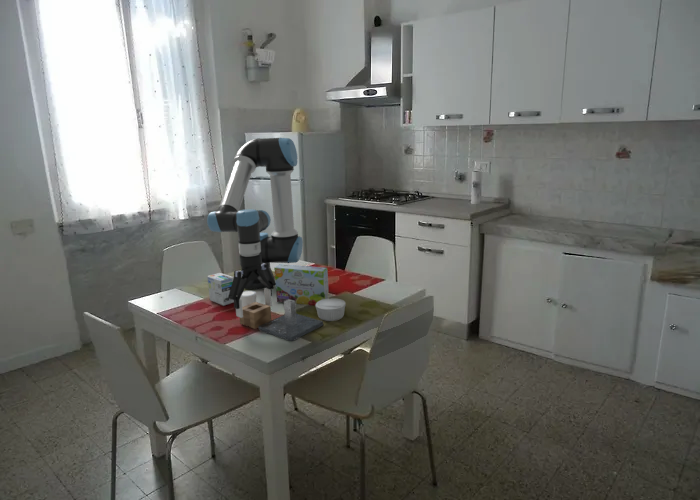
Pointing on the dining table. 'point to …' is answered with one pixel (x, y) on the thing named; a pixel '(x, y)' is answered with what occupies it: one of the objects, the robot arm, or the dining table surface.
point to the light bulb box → (220, 288)
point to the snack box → (301, 284)
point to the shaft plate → (291, 330)
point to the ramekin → (330, 309)
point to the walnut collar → (255, 315)
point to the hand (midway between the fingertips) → (254, 311)
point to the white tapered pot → (248, 297)
